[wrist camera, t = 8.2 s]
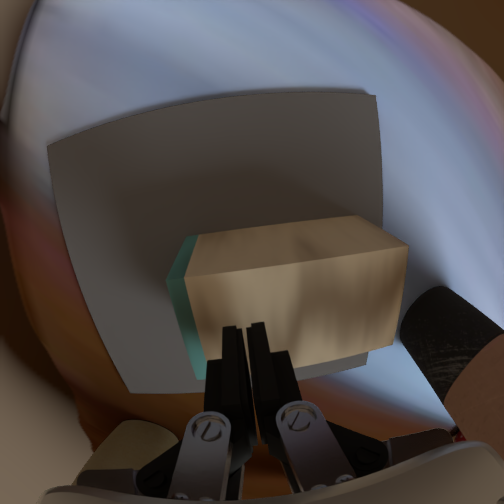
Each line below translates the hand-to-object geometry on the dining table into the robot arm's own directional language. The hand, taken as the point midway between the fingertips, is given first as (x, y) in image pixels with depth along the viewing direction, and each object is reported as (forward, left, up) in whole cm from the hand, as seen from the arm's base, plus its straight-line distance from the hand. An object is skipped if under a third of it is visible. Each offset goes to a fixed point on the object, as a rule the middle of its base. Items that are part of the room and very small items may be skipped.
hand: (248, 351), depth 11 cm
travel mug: (-8, -17, -8) cm, 21 cm away
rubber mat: (0, +1, -8) cm, 8 cm away
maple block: (0, +3, -4) cm, 5 cm away
